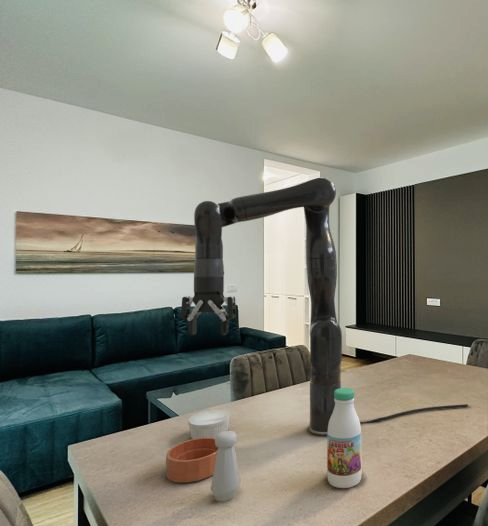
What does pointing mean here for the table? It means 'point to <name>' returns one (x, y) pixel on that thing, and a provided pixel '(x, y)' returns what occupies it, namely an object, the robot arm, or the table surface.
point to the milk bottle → (344, 442)
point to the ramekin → (208, 423)
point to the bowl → (191, 460)
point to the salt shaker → (225, 467)
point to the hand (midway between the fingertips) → (208, 334)
